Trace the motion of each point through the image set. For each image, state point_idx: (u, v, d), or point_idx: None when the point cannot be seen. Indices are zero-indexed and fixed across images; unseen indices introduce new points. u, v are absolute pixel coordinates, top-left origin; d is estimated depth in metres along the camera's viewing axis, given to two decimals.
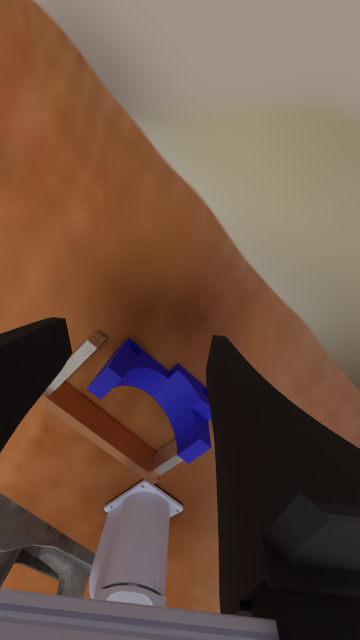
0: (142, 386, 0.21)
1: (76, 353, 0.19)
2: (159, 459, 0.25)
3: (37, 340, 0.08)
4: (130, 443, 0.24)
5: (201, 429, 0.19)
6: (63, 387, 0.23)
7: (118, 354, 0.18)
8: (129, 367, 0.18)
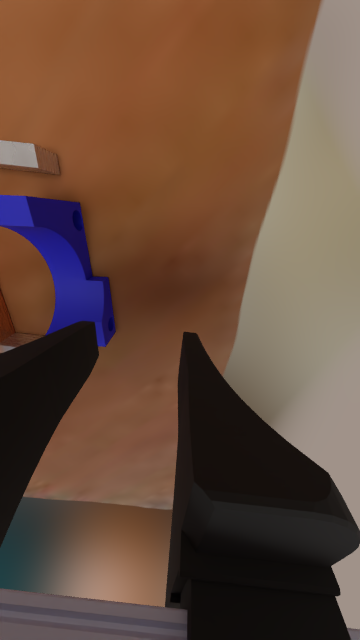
0: (51, 263, 0.17)
1: (3, 143, 0.12)
2: (13, 340, 0.21)
3: (72, 344, 0.08)
4: None
5: None
6: None
7: (52, 201, 0.13)
8: (54, 227, 0.13)
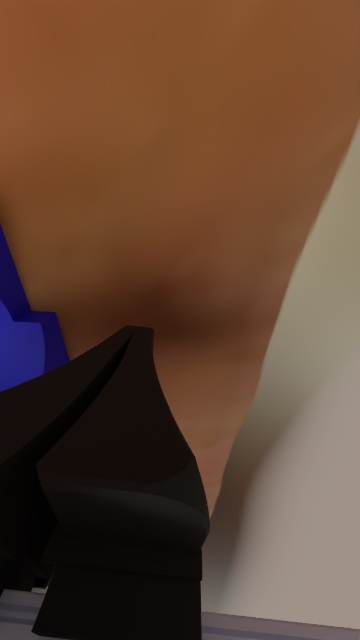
0: None
1: None
2: None
3: (126, 350, 0.08)
4: None
5: None
6: None
7: None
8: None
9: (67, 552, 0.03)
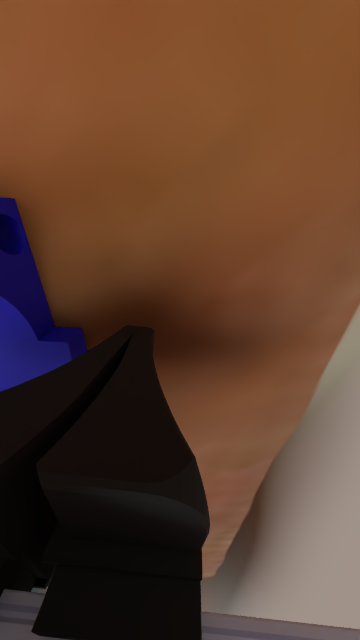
0: None
1: None
2: None
3: (126, 350, 0.08)
4: None
5: None
6: None
7: None
8: None
9: (67, 552, 0.03)
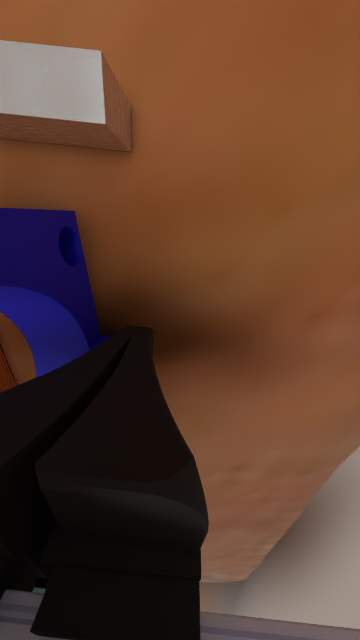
0: (24, 326, 0.09)
1: (14, 51, 0.04)
2: None
3: None
4: None
5: None
6: None
7: (0, 213, 0.05)
8: (10, 275, 0.05)
9: (66, 552, 0.03)
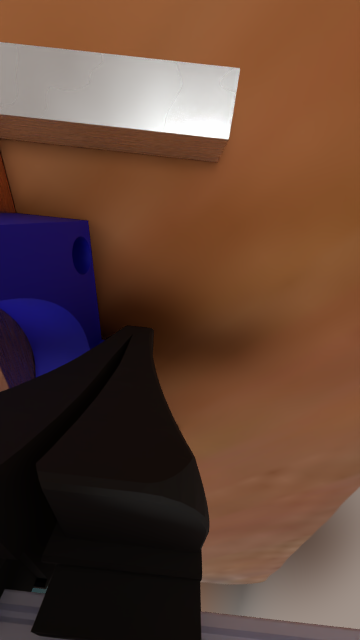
0: (28, 327, 0.09)
1: (152, 68, 0.04)
2: None
3: None
4: None
5: None
6: None
7: (24, 228, 0.05)
8: (28, 288, 0.05)
9: (67, 552, 0.03)
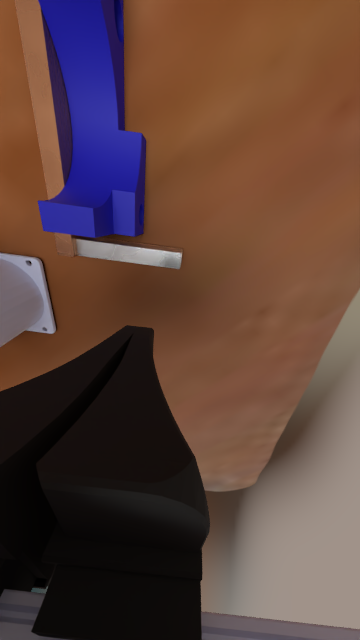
0: (72, 91, 0.12)
1: None
2: (93, 239, 0.15)
3: (126, 350, 0.08)
4: None
5: (102, 215, 0.12)
6: None
7: None
8: None
9: (67, 552, 0.03)
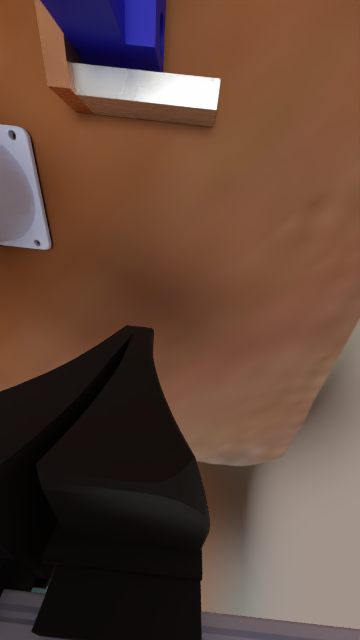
0: None
1: None
2: None
3: (126, 350, 0.08)
4: None
5: None
6: None
7: None
8: None
9: (67, 552, 0.03)
